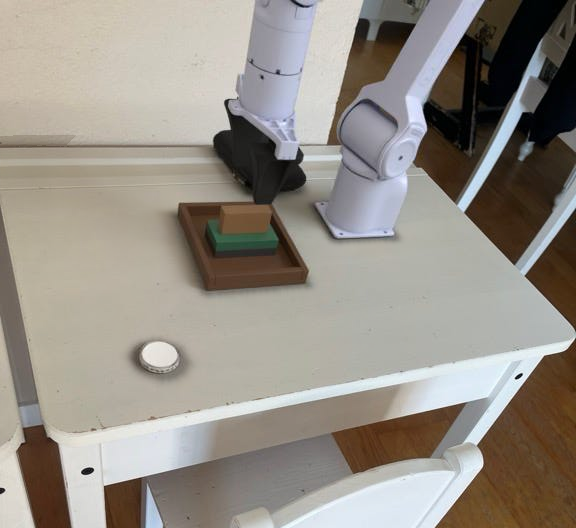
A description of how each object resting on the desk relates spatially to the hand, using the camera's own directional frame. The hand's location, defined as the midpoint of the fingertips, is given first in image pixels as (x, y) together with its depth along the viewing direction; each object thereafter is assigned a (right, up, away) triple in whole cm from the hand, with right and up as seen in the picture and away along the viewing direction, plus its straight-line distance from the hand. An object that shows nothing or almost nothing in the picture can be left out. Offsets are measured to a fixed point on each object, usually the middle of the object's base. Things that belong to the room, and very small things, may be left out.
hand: (252, 183), depth 72 cm
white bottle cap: (-9, -21, -8) cm, 24 cm away
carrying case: (-1, +9, +21) cm, 22 cm away
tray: (-2, -6, +7) cm, 9 cm away
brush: (-2, -6, +6) cm, 9 cm away
